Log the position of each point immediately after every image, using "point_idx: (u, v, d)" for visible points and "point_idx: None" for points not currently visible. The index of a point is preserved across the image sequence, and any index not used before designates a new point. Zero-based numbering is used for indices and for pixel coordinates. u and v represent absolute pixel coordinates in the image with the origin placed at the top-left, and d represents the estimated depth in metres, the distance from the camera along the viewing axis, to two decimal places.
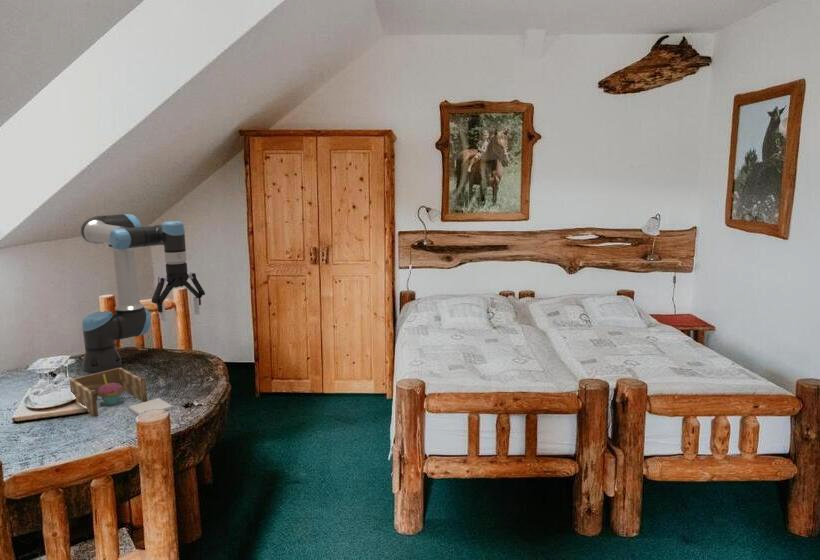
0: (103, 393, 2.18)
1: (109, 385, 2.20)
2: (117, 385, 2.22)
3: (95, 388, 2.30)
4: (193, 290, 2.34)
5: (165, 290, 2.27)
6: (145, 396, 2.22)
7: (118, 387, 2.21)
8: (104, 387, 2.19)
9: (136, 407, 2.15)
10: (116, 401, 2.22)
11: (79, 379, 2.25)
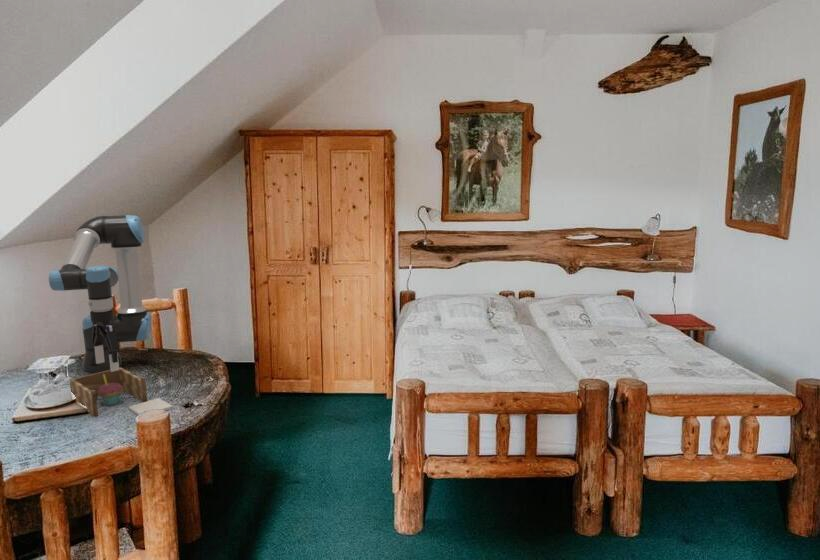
0: (103, 393, 2.18)
1: (109, 385, 2.20)
2: (117, 385, 2.22)
3: (95, 388, 2.30)
4: (107, 344, 2.14)
5: None
6: (145, 396, 2.22)
7: (118, 387, 2.21)
8: (104, 387, 2.19)
9: (136, 407, 2.15)
10: (116, 401, 2.22)
11: (79, 379, 2.25)
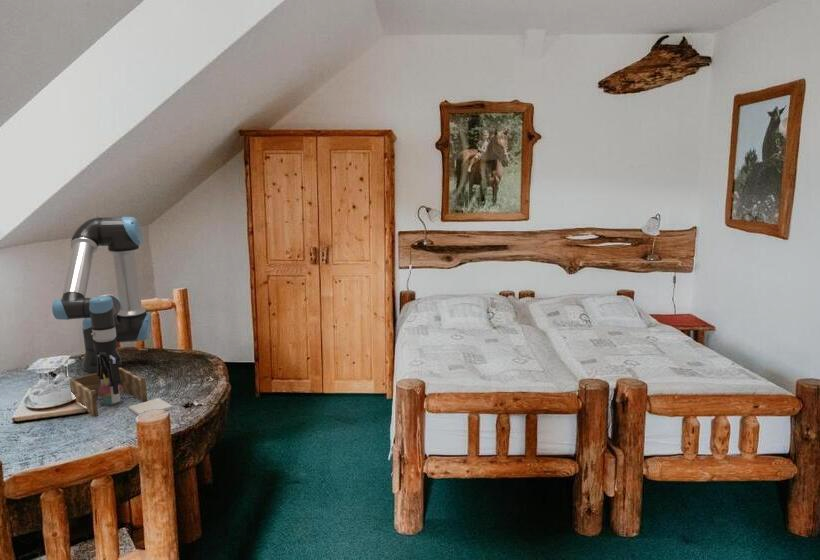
0: (103, 393, 2.18)
1: None
2: None
3: (95, 388, 2.30)
4: (109, 375, 2.17)
5: None
6: (145, 396, 2.22)
7: None
8: (104, 387, 2.19)
9: (136, 407, 2.15)
10: None
11: (79, 379, 2.25)
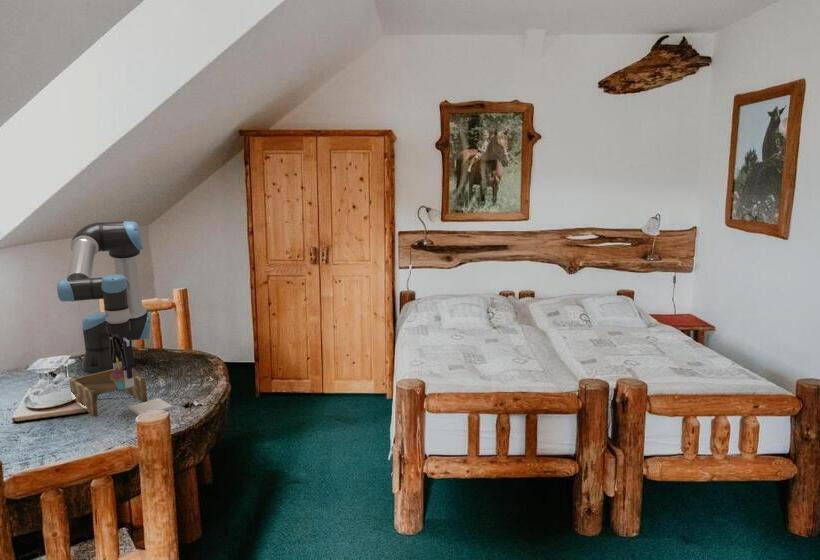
0: (116, 377, 2.07)
1: (122, 369, 2.09)
2: None
3: (95, 388, 2.30)
4: (122, 358, 2.06)
5: None
6: (145, 396, 2.22)
7: None
8: (117, 371, 2.08)
9: (136, 407, 2.15)
10: None
11: (79, 379, 2.25)
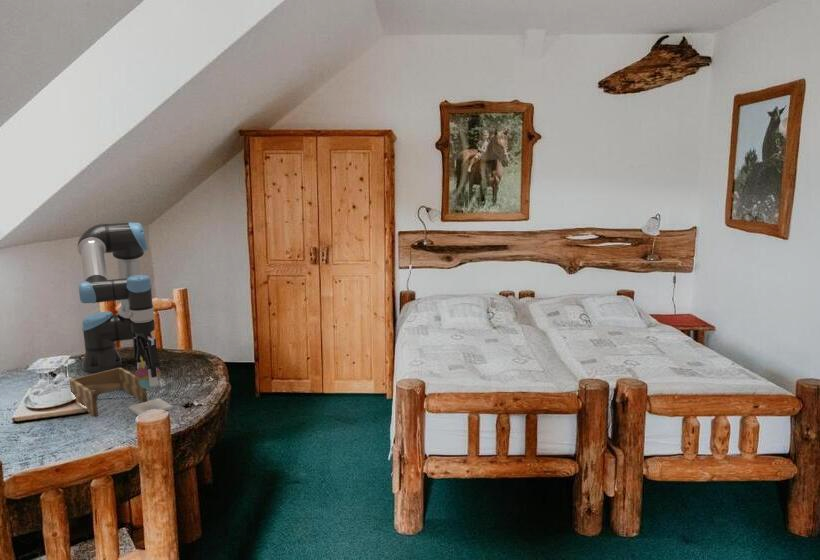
0: (141, 376, 2.10)
1: (146, 368, 2.12)
2: None
3: (95, 388, 2.30)
4: (147, 357, 2.09)
5: None
6: (145, 396, 2.22)
7: None
8: (141, 370, 2.11)
9: (136, 407, 2.15)
10: None
11: (79, 379, 2.25)
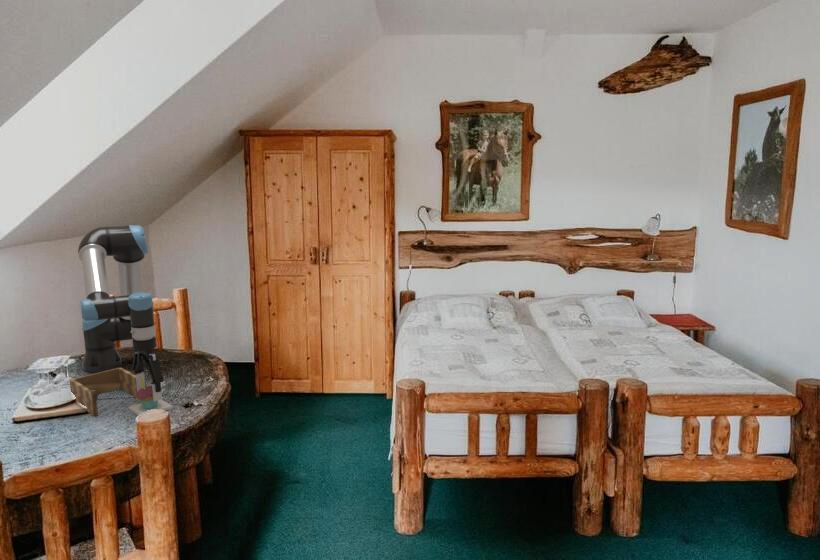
0: (141, 397, 2.11)
1: (147, 389, 2.13)
2: None
3: (95, 388, 2.30)
4: (150, 373, 2.09)
5: None
6: None
7: None
8: (142, 391, 2.12)
9: (136, 407, 2.15)
10: (155, 405, 2.15)
11: (79, 379, 2.25)
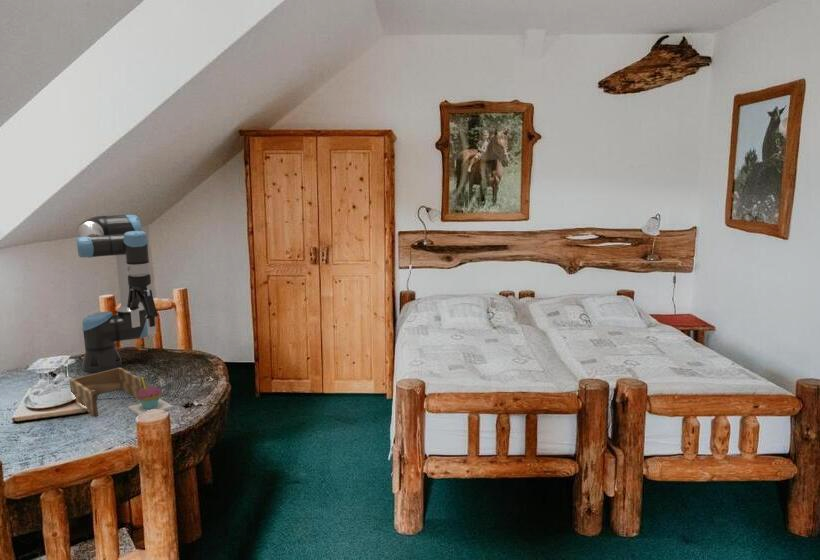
0: (141, 397, 2.11)
1: (148, 389, 2.14)
2: (156, 389, 2.15)
3: (95, 388, 2.30)
4: (144, 308, 2.16)
5: None
6: None
7: (157, 391, 2.14)
8: (143, 391, 2.13)
9: (136, 407, 2.15)
10: (155, 405, 2.15)
11: (79, 379, 2.25)
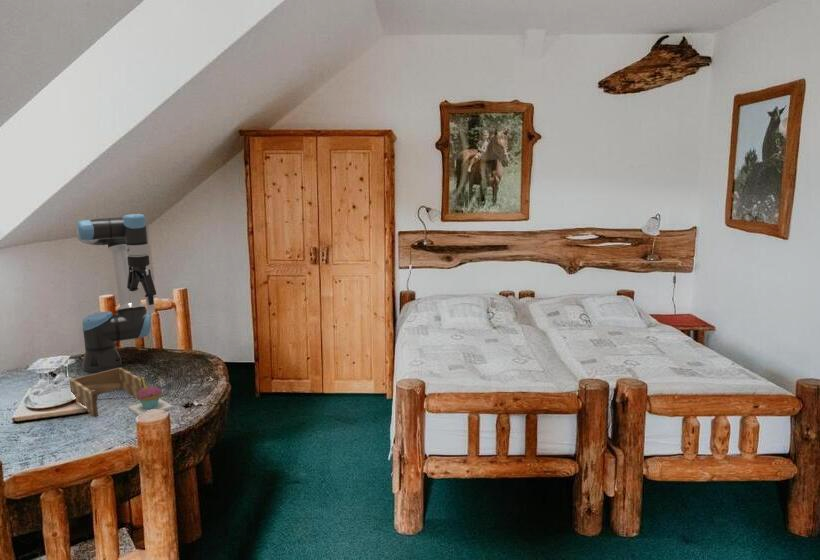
0: (142, 397, 2.11)
1: (148, 389, 2.14)
2: (156, 389, 2.15)
3: (95, 388, 2.30)
4: (143, 287, 2.27)
5: None
6: None
7: (157, 391, 2.14)
8: (143, 391, 2.13)
9: (136, 407, 2.15)
10: (155, 405, 2.15)
11: (79, 379, 2.25)
